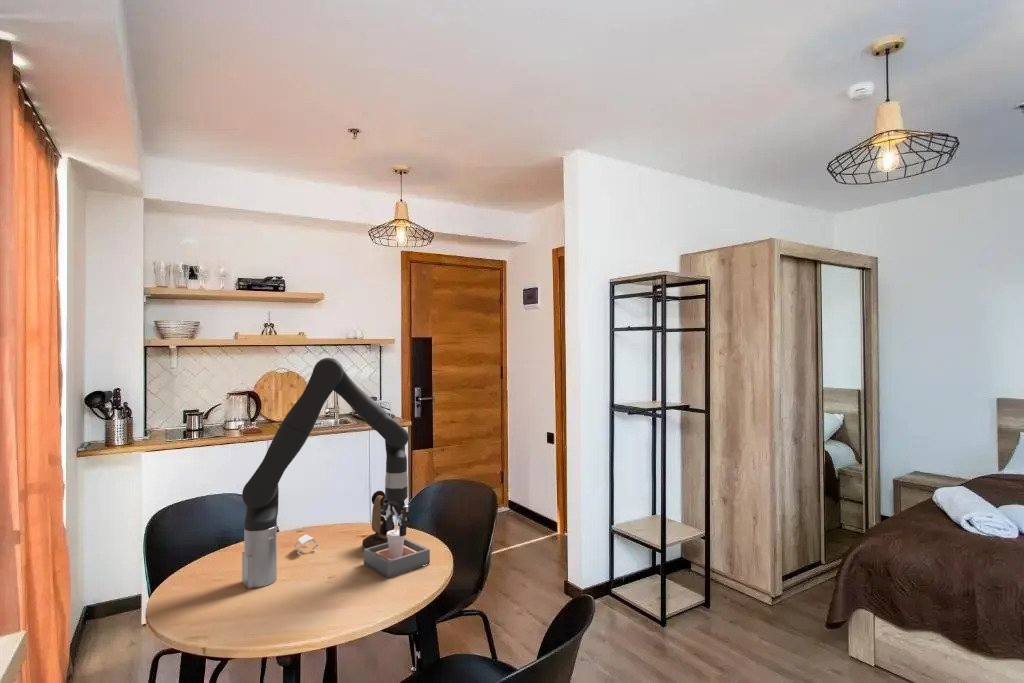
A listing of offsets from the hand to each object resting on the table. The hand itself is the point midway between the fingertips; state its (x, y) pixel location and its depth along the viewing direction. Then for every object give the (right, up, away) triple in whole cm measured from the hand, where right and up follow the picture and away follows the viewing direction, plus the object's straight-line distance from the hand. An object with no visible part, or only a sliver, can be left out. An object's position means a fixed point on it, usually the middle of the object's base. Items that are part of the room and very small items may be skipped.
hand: (396, 532), depth 179 cm
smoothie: (0, -10, 0) cm, 10 cm away
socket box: (0, -11, 0) cm, 11 cm away
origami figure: (-35, -12, +13) cm, 39 cm away
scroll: (-8, -11, +16) cm, 22 cm away
